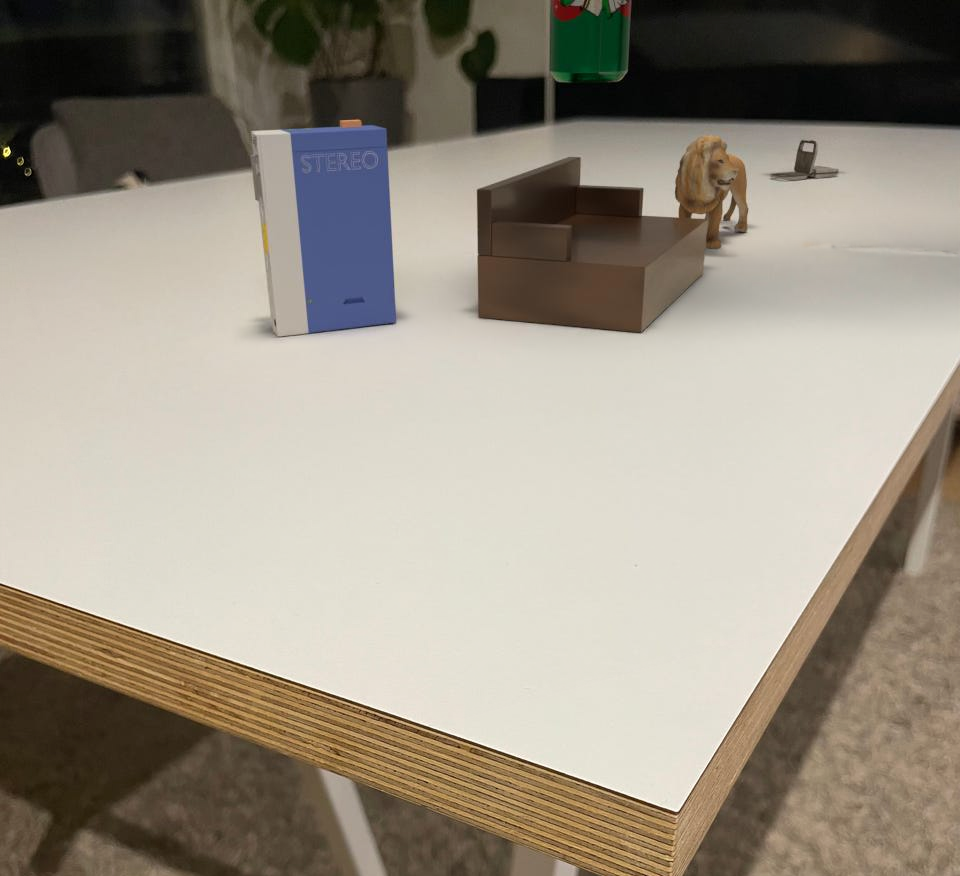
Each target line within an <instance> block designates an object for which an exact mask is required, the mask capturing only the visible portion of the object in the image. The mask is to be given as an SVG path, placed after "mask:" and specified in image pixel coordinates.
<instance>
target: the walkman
mask: <svg viewBox="0 0 960 876" xmlns="http://www.w3.org/2000/svg"><path fill="white" fill-rule="evenodd" d="M250 136H251V142H252V143H251V144H252V145H251V146H252V153H253V154H250V163H251V172H252V180H253V190H254V198H255V201H257V203H258V211H259V219H260V220H259V221H260V229H261V236H262V237H261V238H262V248H263V257H264V265H265V275H266V285H267V294H268V302H269V304H268V305H269V311H270V313H269V314H270V321H271V327H272V331H273V333H274V334H275V335H276V336H277V338H279V337H286V336H287V337H288V336H297V335H304V334H305V335H306V334H312V333H322V332H329V331H337V330H347V329H353V328H362V327H370V326H378V325H387V324H394V323H395V324H396V323H397V311H396V310H397V309H396V294H395V293H396V292H395V291H396V290H395V273H394V270H395V269H394V253H393V252H394V249H393V233H392V230H393V229H392V214H391V213H392V209H391V193H390V191H391V190H390V173H389V153H388V151H389V150H388V133H387V128H386V127H382V126H377V125H373V124H370V125H369V124H367V125H363V123H362V120H361V119H346V120H345V119H344V120H343V119H342V120H339V126H329V127H309V128H308V127H307V128H306V127H305V128H288V129H287V128H285V129H265V130H250Z"/></svg>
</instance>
